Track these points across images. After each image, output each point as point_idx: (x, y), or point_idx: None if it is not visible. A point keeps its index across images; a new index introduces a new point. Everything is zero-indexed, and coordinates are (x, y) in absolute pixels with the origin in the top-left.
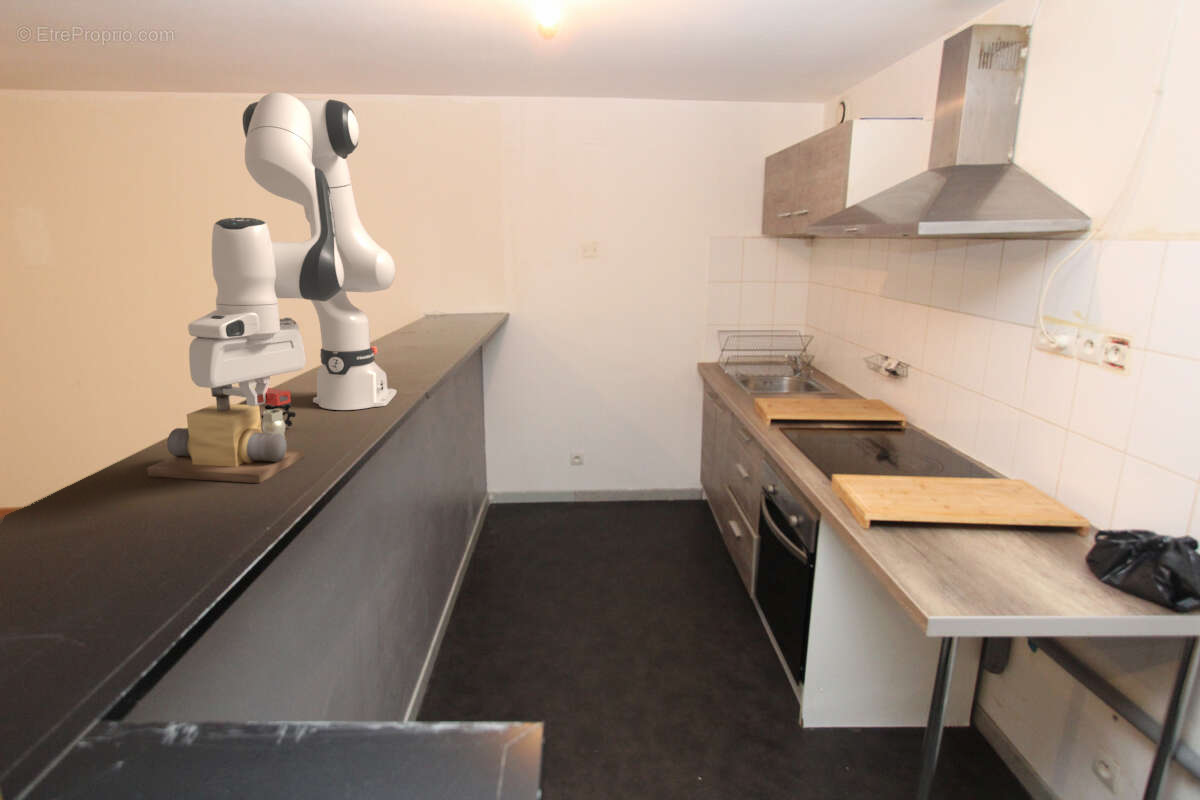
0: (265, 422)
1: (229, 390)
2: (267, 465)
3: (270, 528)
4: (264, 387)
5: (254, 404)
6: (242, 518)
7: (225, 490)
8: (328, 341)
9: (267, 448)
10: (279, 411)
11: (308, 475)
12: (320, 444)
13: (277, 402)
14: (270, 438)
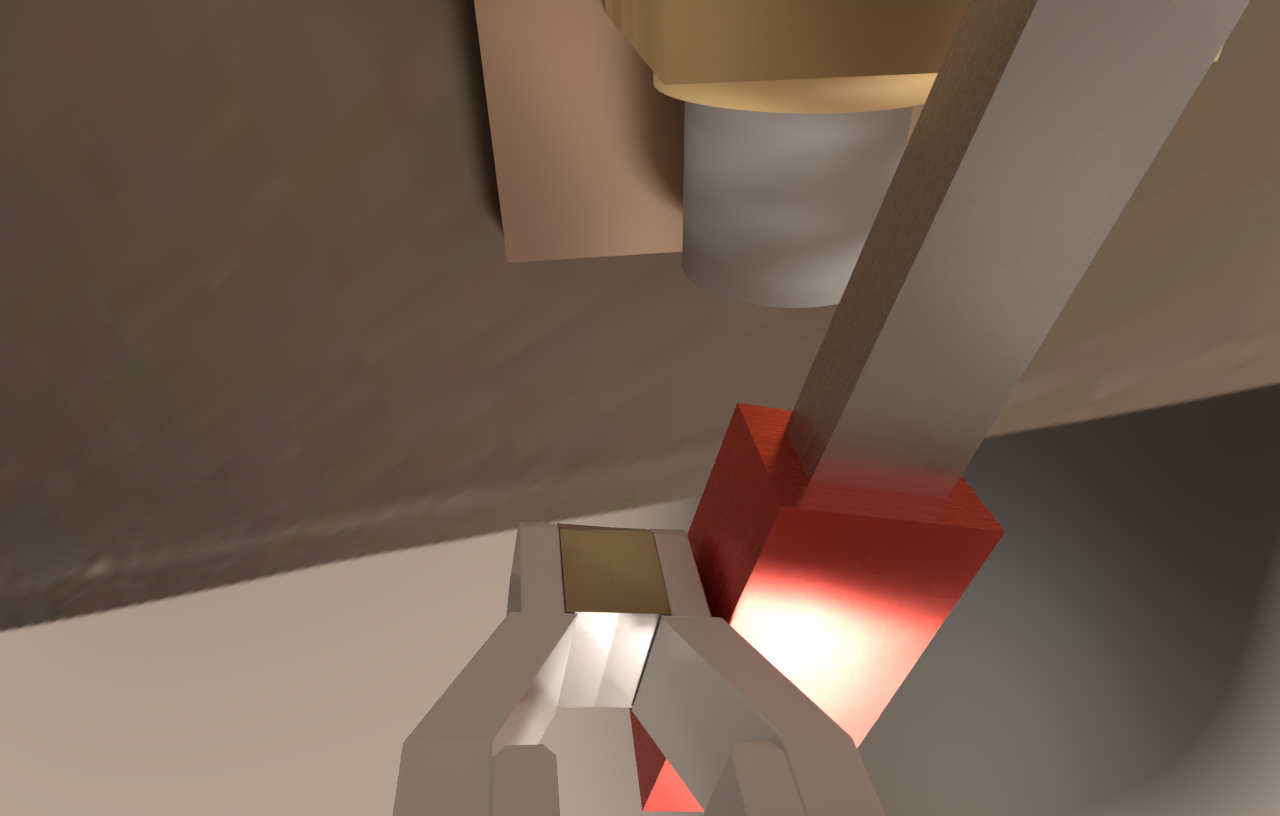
0: None
1: None
2: (670, 206)
3: (101, 574)
4: (685, 784)
5: (509, 609)
6: (107, 438)
7: (348, 122)
8: None
9: (693, 259)
10: None
11: (672, 394)
12: (1202, 173)
13: (633, 722)
14: (753, 282)
